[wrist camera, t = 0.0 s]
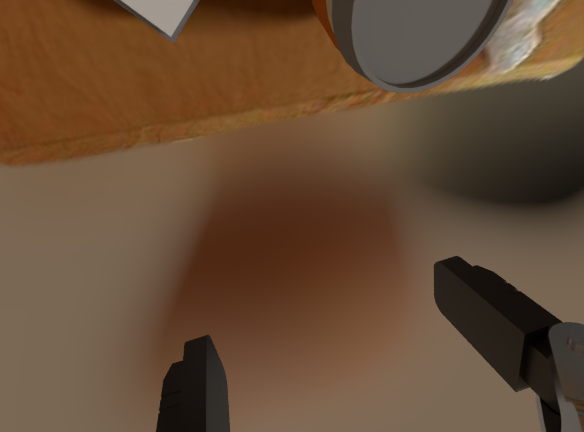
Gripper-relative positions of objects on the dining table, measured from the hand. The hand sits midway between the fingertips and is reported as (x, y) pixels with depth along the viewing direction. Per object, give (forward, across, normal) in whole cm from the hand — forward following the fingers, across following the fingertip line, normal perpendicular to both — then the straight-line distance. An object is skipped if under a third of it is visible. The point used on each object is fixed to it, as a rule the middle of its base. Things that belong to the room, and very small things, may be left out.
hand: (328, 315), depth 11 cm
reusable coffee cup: (+28, -14, -14) cm, 35 cm away
